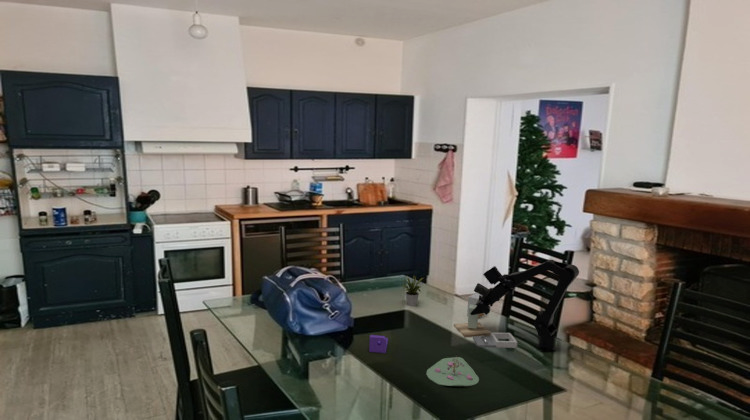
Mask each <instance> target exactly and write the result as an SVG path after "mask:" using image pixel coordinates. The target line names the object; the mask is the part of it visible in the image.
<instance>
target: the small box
mask: <svg viewBox="0 0 750 420" xmlns="http://www.w3.org/2000/svg"><path fill="white" fill-rule="evenodd" d="M479 295H480V294H478V293H476V292H474V293H473V294H472V295H469V296H468V298H467V299H468V300H467V313H466V314H467V315H466V316H467V317H468V313H469V306H470V304H471V305H475V304H476V303H477V302H478V301H479ZM481 296H482V295H481ZM484 314H485V313H481V314H478V319H479V318H480V317H483V316H484Z"/></svg>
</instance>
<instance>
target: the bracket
mask: <svg viewBox="0 0 750 420" xmlns="http://www.w3.org/2000/svg"><path fill="white" fill-rule="evenodd" d="M388 344H389V338H388V337H386V336H384V335H376V334H370V336H369V349H368V350H369V352H370V353H381V354H386V353H387V348H388Z"/></svg>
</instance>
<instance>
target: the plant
mask: <svg viewBox="0 0 750 420" xmlns="http://www.w3.org/2000/svg"><path fill="white" fill-rule="evenodd" d="M426 376H427V377H428V379H429V380H431V381H432V382H433V383H435V384H437V385H439V386H445V387H446V386H447V387H470V386H475V385H477V384H478V383H479V381H480V378H479V376H478V375H477V374H476V372H475V371H474V369H473V368H472V367H471V366H470V365H469V363H468V362H467V361H465V359H464V358H463V357H460V356H458V355H455V357H454V356H453V357H445V358H442V359H440V360H439V361H437V362H436V363H434V364H433V365H432V366H431V367H429V368H428V369H427V370H426Z"/></svg>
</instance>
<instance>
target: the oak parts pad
mask: <svg viewBox="0 0 750 420" xmlns="http://www.w3.org/2000/svg"><path fill="white" fill-rule="evenodd" d="M453 327H454V328H455V329H456V330H457V331H458V332H459V333H460V334H461V335H462V336H463V337H464V338H473V336H479V337H481V335H484V337H490V333H491V332H490V330H488V329H487V328H486V327H485V326H484V325H482V323H481V322H478V325H477V329H475V328H468V322H466V323H465V322H464V323H463V322H462V323H453Z"/></svg>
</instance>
